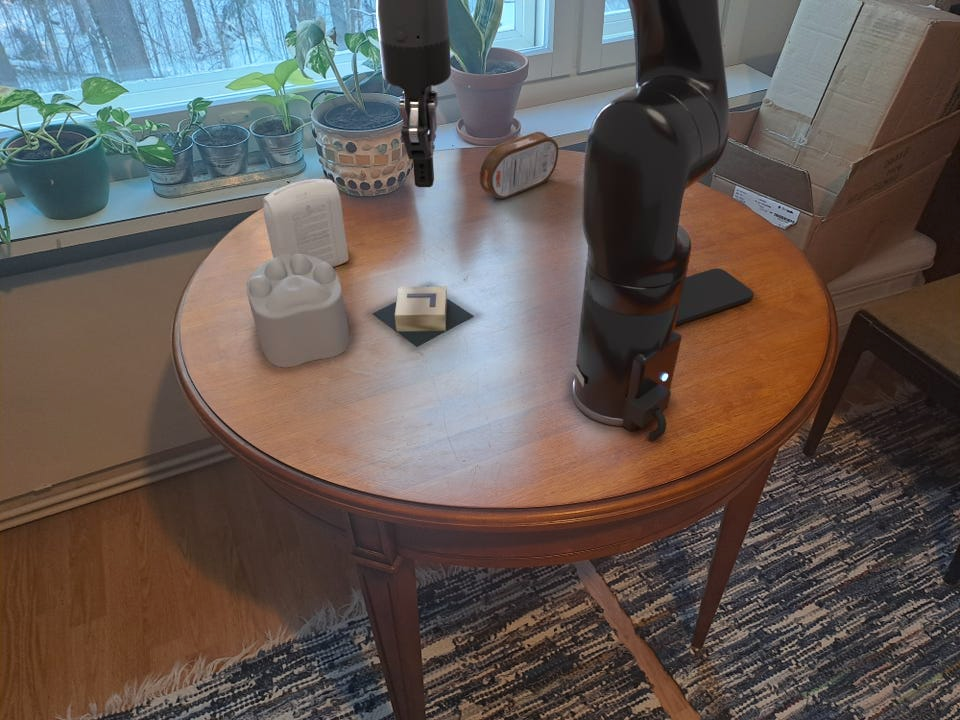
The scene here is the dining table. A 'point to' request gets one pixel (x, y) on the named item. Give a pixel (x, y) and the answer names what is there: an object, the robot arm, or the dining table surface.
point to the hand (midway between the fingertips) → (424, 184)
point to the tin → (518, 165)
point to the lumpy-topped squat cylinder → (298, 310)
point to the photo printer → (307, 221)
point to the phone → (710, 294)
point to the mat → (419, 337)
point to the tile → (421, 309)
